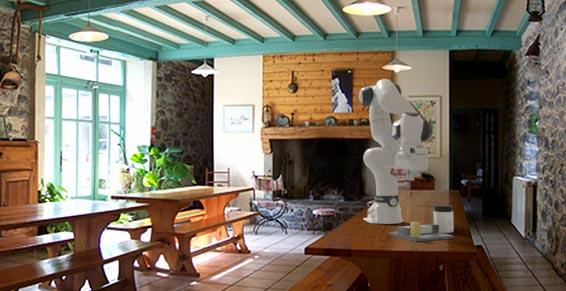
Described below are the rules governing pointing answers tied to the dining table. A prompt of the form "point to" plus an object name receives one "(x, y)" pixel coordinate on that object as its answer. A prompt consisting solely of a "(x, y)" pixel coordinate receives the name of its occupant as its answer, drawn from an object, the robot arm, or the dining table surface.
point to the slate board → (423, 236)
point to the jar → (443, 218)
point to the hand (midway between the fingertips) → (410, 180)
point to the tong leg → (429, 228)
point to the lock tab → (415, 229)
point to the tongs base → (406, 229)
